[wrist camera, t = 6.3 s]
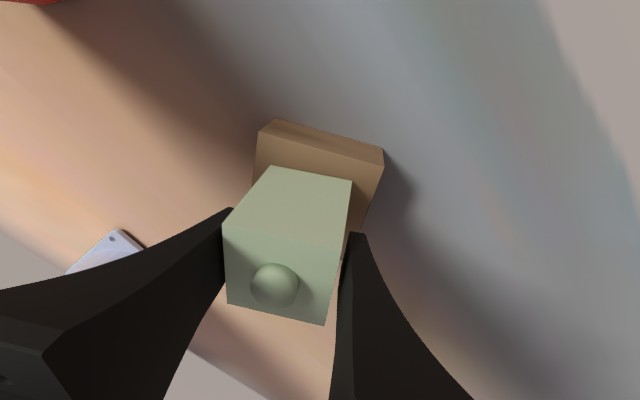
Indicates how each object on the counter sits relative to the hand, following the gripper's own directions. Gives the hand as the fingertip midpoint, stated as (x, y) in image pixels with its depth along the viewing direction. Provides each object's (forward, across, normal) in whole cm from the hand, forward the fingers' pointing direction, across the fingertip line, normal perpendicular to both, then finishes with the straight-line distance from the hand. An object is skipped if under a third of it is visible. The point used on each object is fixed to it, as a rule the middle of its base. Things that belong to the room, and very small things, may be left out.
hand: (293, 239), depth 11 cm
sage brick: (+3, 0, 0) cm, 3 cm away
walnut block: (+6, 0, 0) cm, 6 cm away
